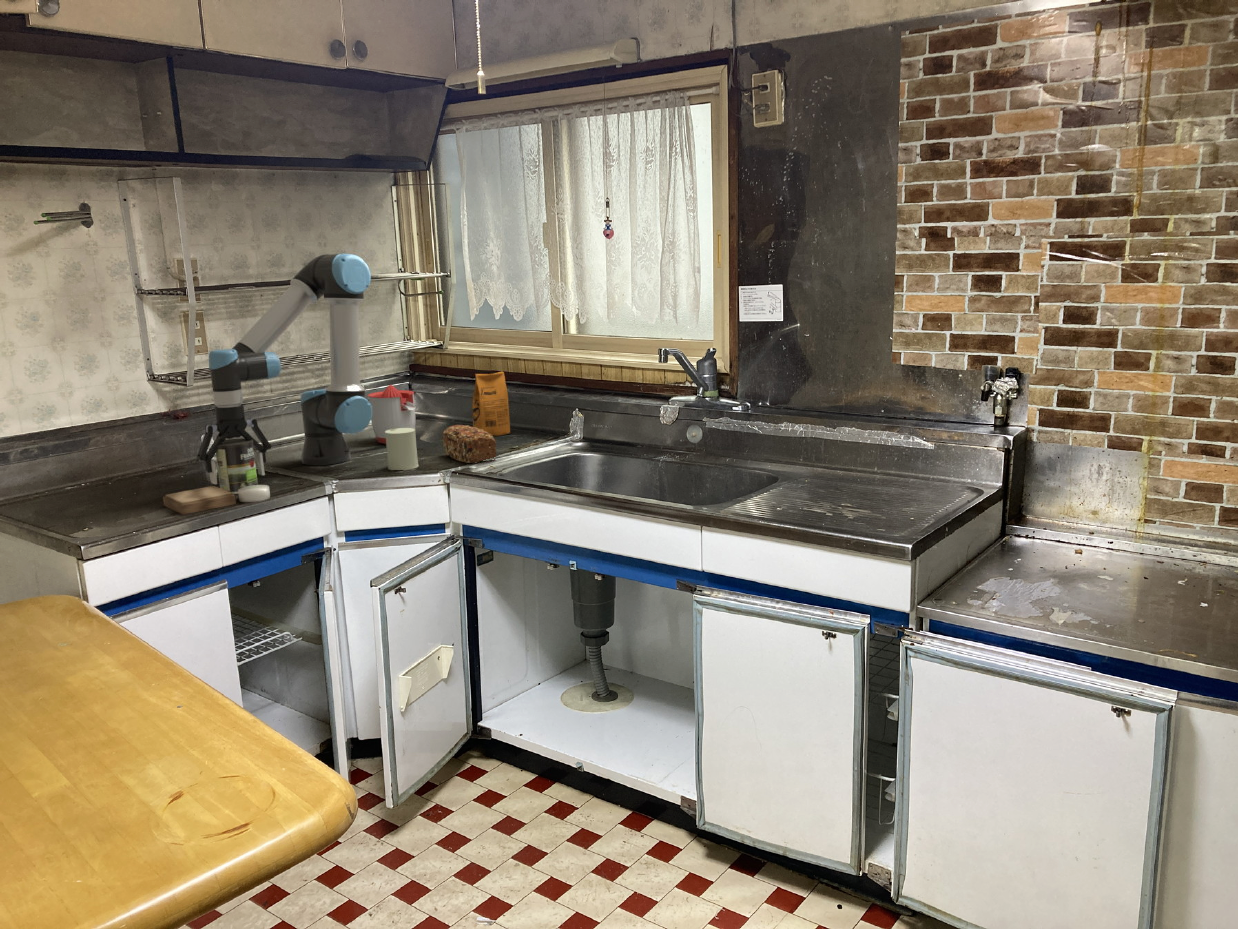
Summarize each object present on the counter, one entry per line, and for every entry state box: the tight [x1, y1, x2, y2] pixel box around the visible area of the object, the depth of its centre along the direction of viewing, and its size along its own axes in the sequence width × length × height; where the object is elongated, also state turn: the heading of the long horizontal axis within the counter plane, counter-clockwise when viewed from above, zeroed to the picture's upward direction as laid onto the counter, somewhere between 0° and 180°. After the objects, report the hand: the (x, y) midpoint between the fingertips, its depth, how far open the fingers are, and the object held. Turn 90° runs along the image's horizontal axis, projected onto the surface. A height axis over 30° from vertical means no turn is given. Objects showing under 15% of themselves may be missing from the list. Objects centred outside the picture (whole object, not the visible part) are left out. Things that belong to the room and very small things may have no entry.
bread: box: [442, 424, 497, 464], centre depth 307 cm, size 19×11×10 cm, turn 33°
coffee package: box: [472, 371, 511, 437], centre depth 343 cm, size 10×12×22 cm
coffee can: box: [215, 437, 259, 495], centre depth 275 cm, size 10×10×14 cm
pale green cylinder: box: [385, 428, 420, 471], centre depth 297 cm, size 9×9×12 cm
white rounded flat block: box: [237, 484, 271, 503], centre depth 266 cm, size 8×8×3 cm
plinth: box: [162, 485, 237, 516], centre depth 261 cm, size 14×14×3 cm
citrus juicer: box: [367, 384, 417, 445], centre depth 336 cm, size 16×17×20 cm
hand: (238, 479), depth 276 cm, fingers open, 13 cm apart
